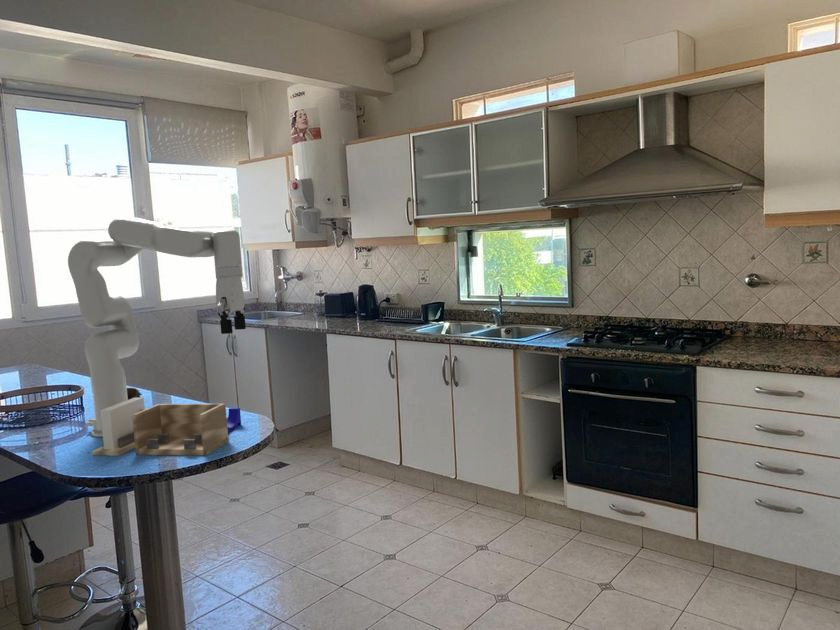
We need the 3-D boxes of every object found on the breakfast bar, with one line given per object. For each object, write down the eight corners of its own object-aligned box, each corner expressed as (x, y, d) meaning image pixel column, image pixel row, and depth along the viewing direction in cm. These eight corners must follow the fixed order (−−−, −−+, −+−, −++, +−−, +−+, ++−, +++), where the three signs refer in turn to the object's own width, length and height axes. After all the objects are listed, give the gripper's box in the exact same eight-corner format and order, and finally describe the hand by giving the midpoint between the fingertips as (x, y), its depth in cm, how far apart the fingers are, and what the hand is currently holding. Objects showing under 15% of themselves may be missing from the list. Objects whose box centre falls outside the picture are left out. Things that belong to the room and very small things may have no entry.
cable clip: (228, 426, 197) (226, 407, 197) (241, 426, 196) (239, 407, 196) (208, 437, 185) (206, 417, 185) (222, 438, 185) (220, 417, 184)
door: (116, 449, 174) (112, 410, 173) (104, 449, 174) (100, 410, 173) (149, 433, 188) (145, 397, 187) (138, 433, 189) (134, 397, 188)
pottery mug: (150, 404, 234) (146, 387, 229) (135, 421, 226) (130, 404, 222) (121, 398, 236) (116, 381, 231) (105, 415, 228) (100, 398, 224)
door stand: (92, 455, 174) (91, 442, 173) (134, 436, 191) (132, 424, 191) (118, 455, 172) (117, 442, 172) (158, 436, 190) (156, 424, 189)
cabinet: (136, 454, 172) (132, 414, 171) (161, 441, 184) (158, 404, 183) (206, 455, 168) (203, 414, 167) (228, 441, 180) (225, 403, 179)
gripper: (228, 272, 193) (233, 328, 195) (203, 275, 176) (208, 335, 178) (252, 271, 193) (256, 327, 194) (229, 273, 175) (234, 334, 177)
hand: (233, 331), depth 186 cm, fingers open, 9 cm apart
